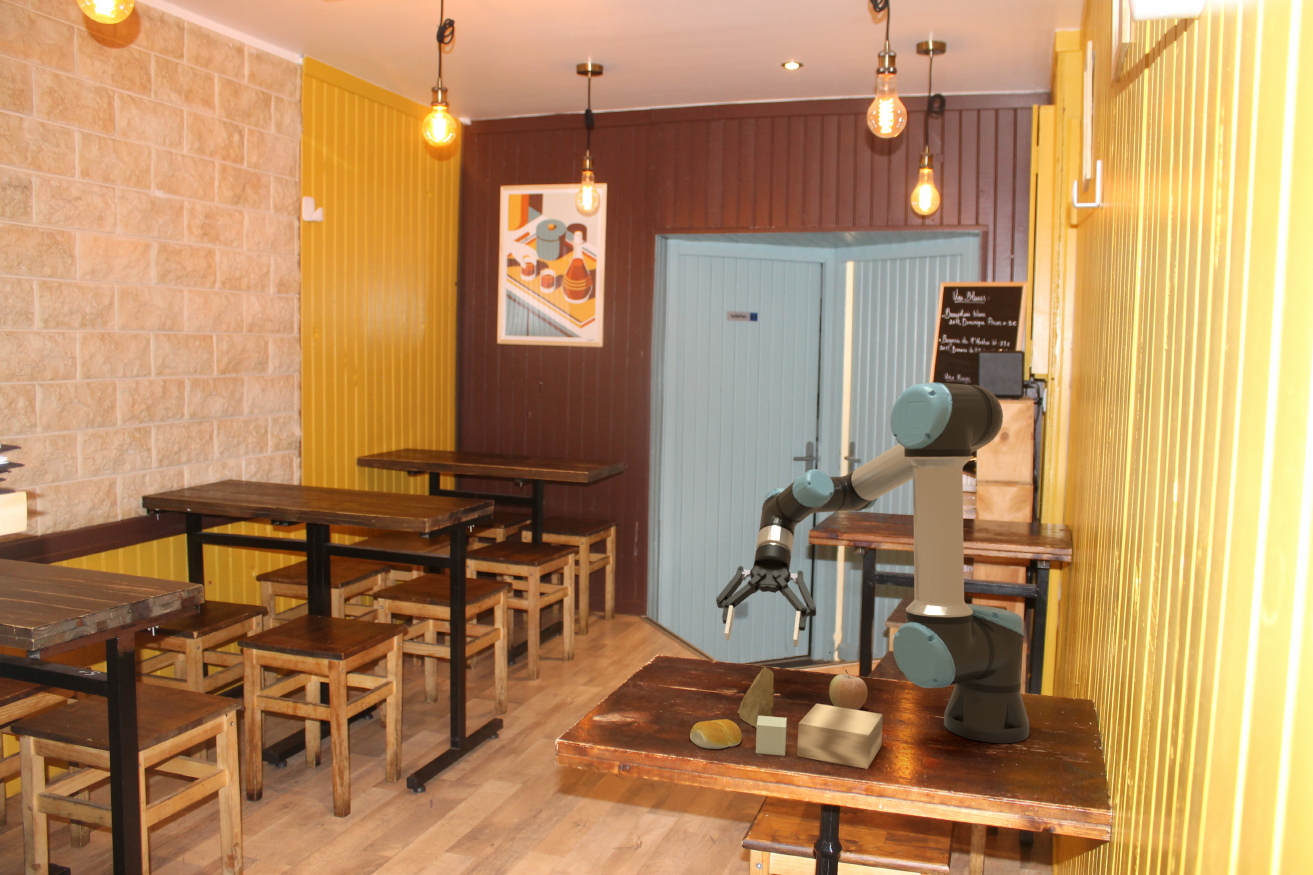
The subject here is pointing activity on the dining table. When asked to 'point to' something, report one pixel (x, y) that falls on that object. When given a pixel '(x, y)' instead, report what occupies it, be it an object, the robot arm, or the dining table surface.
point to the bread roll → (716, 734)
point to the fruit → (848, 691)
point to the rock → (758, 698)
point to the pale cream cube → (771, 735)
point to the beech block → (840, 735)
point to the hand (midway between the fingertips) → (760, 640)
